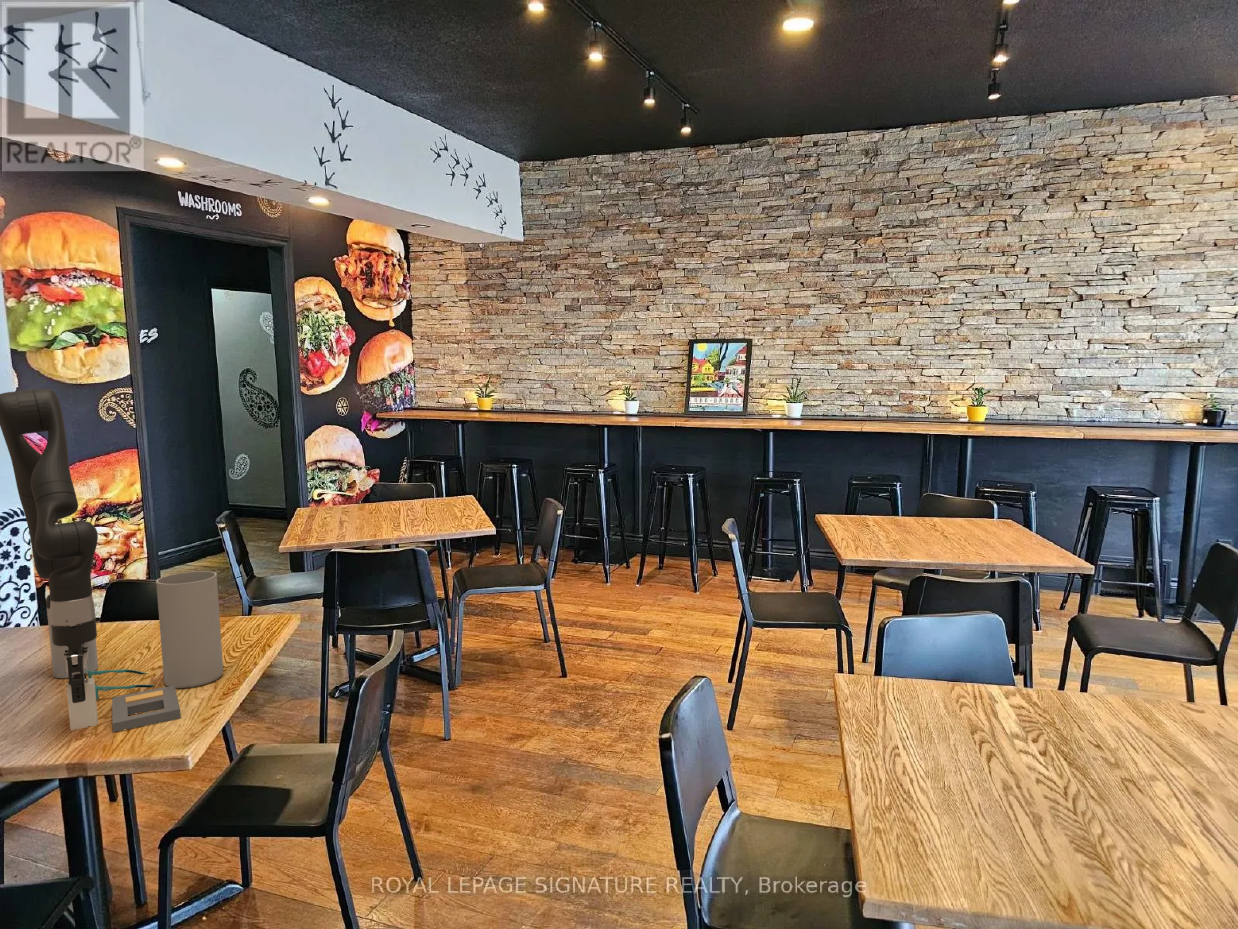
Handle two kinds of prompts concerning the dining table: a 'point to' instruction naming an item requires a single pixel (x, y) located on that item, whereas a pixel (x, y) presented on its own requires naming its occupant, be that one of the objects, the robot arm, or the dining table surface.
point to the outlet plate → (145, 708)
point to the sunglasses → (107, 688)
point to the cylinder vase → (190, 628)
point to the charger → (83, 707)
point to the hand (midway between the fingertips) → (80, 695)
